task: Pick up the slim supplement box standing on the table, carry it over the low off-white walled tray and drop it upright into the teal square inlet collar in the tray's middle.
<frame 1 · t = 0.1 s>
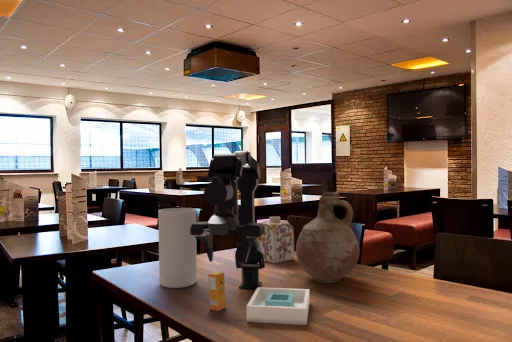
hand: (227, 262, 104), 14 cm above the table, tool pointing down, fingers open, 9 cm apart
jug: (327, 280, 137), on the table
cylinder vase: (178, 283, 136), on the table
walled tray: (280, 312, 107), on the table
supplement box: (217, 309, 110), on the table
decorative jar: (275, 260, 169), on the table
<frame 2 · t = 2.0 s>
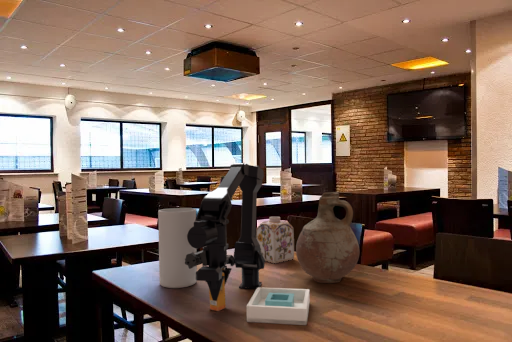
hand: (217, 297, 110), 3 cm above the table, tool pointing down, fingers closed on supplement box, 4 cm apart
supplement box: (217, 309, 110), on the table, touching gripper
everything else where it was.
when the fingers open (5 cm above the table, at t = 6.5 s): supplement box stays where it is, resting on walled tray.
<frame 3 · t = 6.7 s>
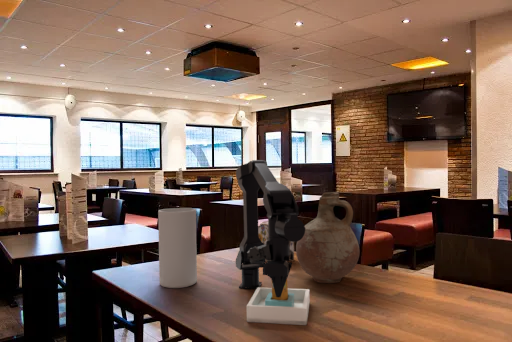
hand: (279, 293, 107), 5 cm above the table, tool pointing down, fingers open, 6 cm apart
supplement box: (279, 308, 107), point 1 cm above the table, touching walled tray
everything else where it was.
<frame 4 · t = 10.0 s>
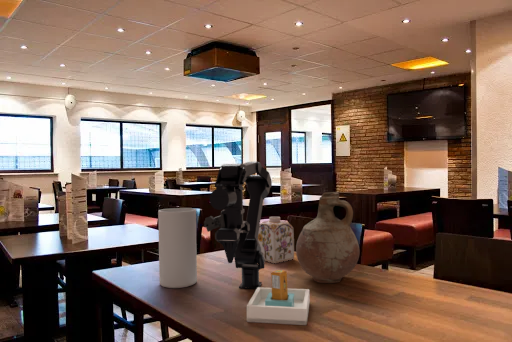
hand: (233, 259, 118), 12 cm above the table, tool pointing down, fingers open, 9 cm apart
nothing on the table moved.
at the end: supplement box 0.1 cm off-centre on the walled tray, point 0.8 cm above the walled tray's base; supplement box tilted 0°; the gripper is holding nothing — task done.
